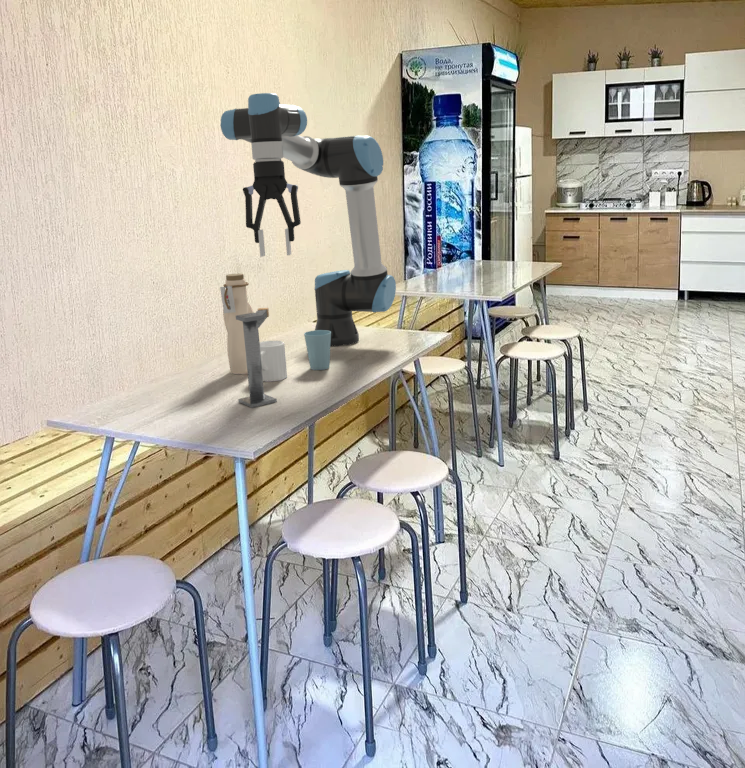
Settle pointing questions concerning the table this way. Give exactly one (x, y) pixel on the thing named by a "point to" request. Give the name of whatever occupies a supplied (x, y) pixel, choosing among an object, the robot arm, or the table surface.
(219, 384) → the table surface
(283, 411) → the table surface
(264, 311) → the bar
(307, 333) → the cup
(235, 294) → the water bottle
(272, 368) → the mug
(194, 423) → the table surface
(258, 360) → the post
